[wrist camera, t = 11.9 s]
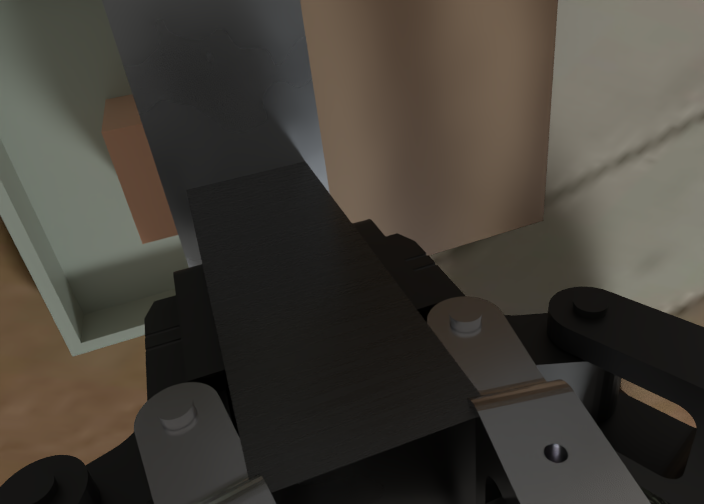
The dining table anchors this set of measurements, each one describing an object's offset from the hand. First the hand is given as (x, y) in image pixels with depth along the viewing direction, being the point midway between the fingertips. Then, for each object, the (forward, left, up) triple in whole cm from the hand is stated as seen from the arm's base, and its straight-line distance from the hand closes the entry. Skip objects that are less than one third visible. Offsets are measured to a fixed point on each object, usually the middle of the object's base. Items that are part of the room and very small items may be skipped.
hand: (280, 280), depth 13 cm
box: (+3, 0, -12) cm, 13 cm away
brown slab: (-8, 0, -12) cm, 15 cm away
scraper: (0, 0, -6) cm, 6 cm away
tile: (+1, 0, -10) cm, 10 cm away
